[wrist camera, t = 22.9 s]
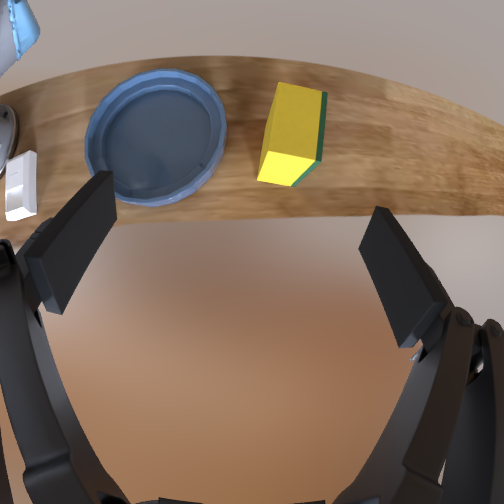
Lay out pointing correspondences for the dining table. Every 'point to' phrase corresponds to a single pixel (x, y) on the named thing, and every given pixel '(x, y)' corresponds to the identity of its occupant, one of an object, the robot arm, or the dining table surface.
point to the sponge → (293, 135)
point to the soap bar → (21, 186)
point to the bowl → (157, 136)
